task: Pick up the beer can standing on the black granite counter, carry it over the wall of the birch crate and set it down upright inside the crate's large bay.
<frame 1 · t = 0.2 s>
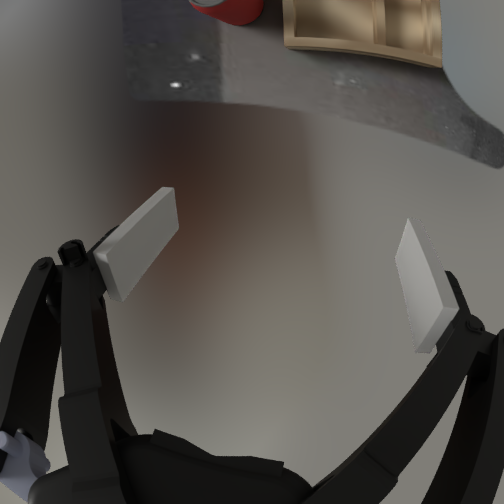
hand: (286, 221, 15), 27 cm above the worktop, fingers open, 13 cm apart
beer can: (241, 6, 28), on the worktop
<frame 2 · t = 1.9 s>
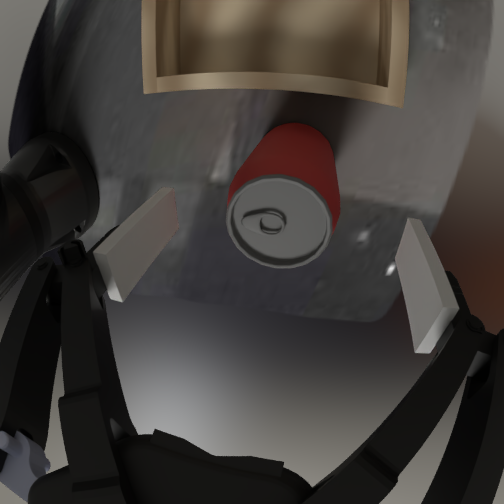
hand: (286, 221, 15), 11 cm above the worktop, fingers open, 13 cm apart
beer can: (296, 156, 24), on the worktop
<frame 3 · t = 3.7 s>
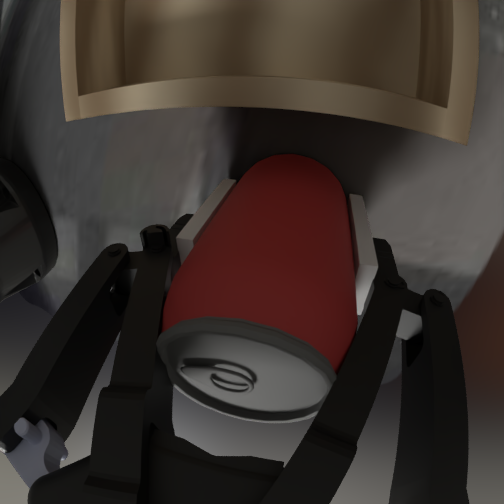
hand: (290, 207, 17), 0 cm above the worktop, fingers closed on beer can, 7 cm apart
beer can: (291, 201, 17), on the worktop, touching gripper
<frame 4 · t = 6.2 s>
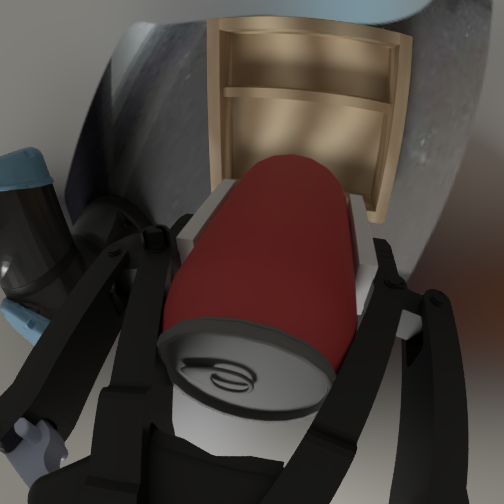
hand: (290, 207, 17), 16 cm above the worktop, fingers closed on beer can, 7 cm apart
beer can: (291, 202, 17), point 16 cm above the worktop, touching gripper
crate: (307, 111, 28), on the worktop
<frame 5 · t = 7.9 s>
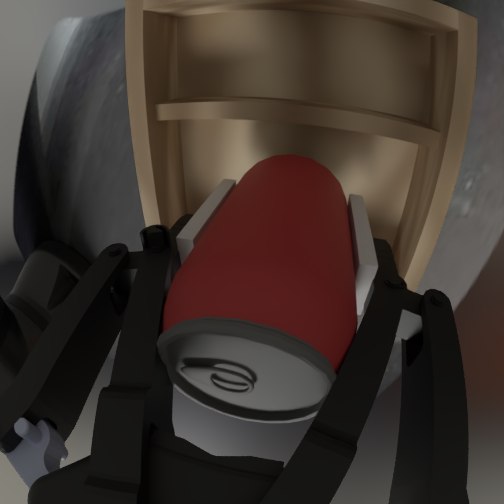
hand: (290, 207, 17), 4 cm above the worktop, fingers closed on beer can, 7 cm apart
beer can: (291, 202, 17), point 3 cm above the worktop, touching gripper
crate: (297, 134, 18), on the worktop
when the fingers open (3 cm above the worktop, at t = 8.9 s): beer can drops 1 cm, resting on crate.
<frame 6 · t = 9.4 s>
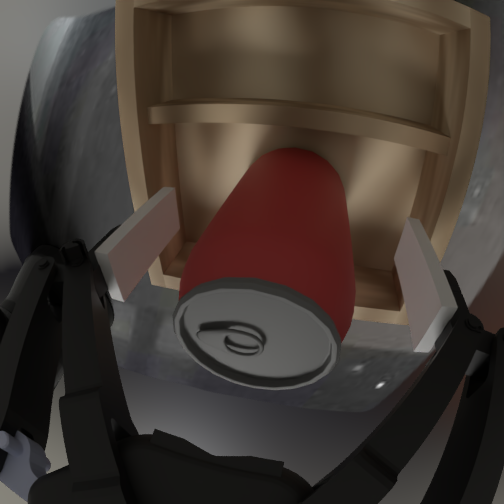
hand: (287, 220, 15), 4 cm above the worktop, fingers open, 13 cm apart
beer can: (293, 192, 19), point 1 cm above the worktop, touching crate
crate: (298, 138, 17), on the worktop
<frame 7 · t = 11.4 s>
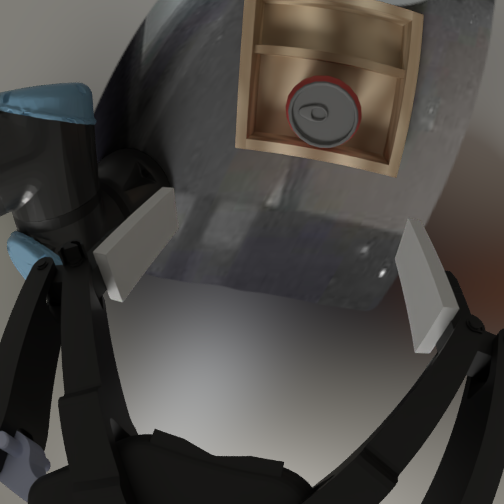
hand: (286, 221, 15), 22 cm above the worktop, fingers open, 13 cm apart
beer can: (324, 102, 30), point 1 cm above the worktop, touching crate
crate: (328, 74, 28), on the worktop
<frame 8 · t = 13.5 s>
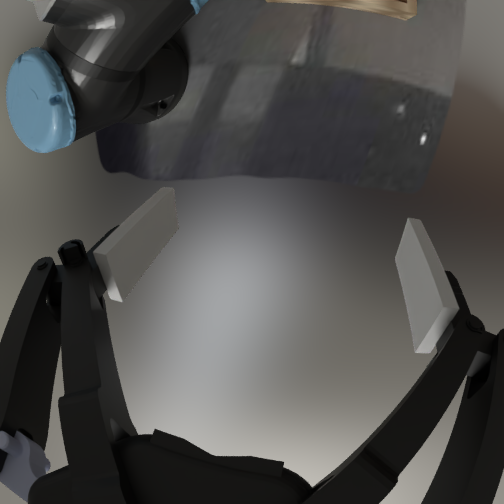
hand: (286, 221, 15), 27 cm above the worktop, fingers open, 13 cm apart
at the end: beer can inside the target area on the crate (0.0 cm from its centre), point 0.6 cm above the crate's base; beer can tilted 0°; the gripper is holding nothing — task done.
